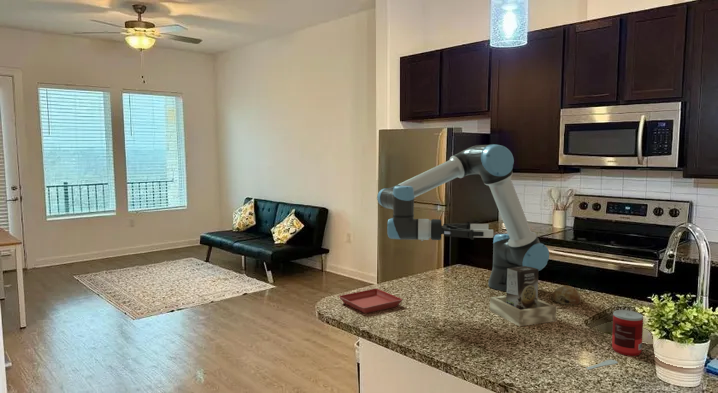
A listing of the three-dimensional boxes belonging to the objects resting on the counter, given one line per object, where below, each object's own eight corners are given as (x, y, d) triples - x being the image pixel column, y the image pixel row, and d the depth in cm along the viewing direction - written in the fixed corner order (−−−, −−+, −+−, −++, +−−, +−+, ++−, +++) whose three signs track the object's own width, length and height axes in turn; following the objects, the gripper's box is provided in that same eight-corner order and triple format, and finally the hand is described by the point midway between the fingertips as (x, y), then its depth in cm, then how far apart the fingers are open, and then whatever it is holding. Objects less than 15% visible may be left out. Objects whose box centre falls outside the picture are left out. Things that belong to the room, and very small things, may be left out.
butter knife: (621, 362, 135) (611, 358, 138) (557, 380, 125) (548, 375, 127) (621, 364, 135) (611, 360, 138) (557, 382, 125) (548, 377, 127)
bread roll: (552, 311, 191) (552, 295, 187) (552, 293, 199) (553, 278, 195) (580, 314, 187) (581, 298, 183) (579, 296, 195) (580, 280, 192)
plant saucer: (363, 316, 175) (363, 307, 175) (337, 303, 190) (337, 295, 190) (403, 307, 185) (403, 299, 185) (376, 296, 200) (376, 288, 200)
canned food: (634, 346, 147) (635, 310, 146) (646, 357, 139) (648, 319, 138) (607, 345, 148) (608, 309, 147) (618, 356, 140) (620, 318, 139)
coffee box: (518, 317, 169) (519, 271, 168) (505, 312, 175) (506, 267, 173) (538, 313, 173) (539, 268, 172) (524, 308, 179) (525, 265, 177)
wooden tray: (524, 306, 185) (524, 293, 184) (555, 321, 169) (556, 306, 168) (489, 310, 180) (489, 297, 179) (519, 326, 164) (519, 311, 163)
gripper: (430, 234, 190) (486, 235, 187) (430, 246, 166) (495, 247, 163) (430, 214, 190) (486, 215, 187) (430, 224, 165) (495, 225, 162)
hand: (490, 230), depth 175 cm, fingers open, 13 cm apart
